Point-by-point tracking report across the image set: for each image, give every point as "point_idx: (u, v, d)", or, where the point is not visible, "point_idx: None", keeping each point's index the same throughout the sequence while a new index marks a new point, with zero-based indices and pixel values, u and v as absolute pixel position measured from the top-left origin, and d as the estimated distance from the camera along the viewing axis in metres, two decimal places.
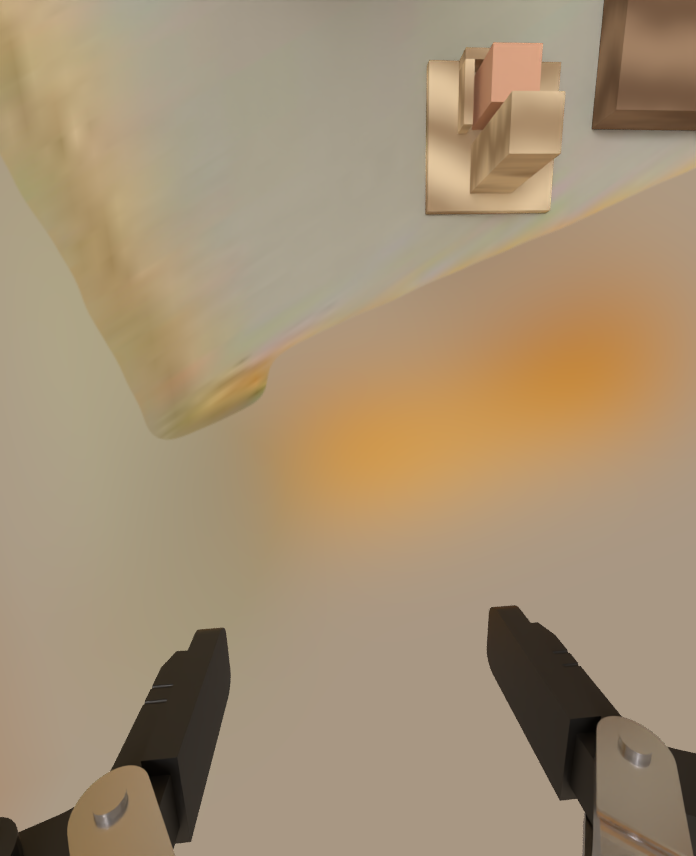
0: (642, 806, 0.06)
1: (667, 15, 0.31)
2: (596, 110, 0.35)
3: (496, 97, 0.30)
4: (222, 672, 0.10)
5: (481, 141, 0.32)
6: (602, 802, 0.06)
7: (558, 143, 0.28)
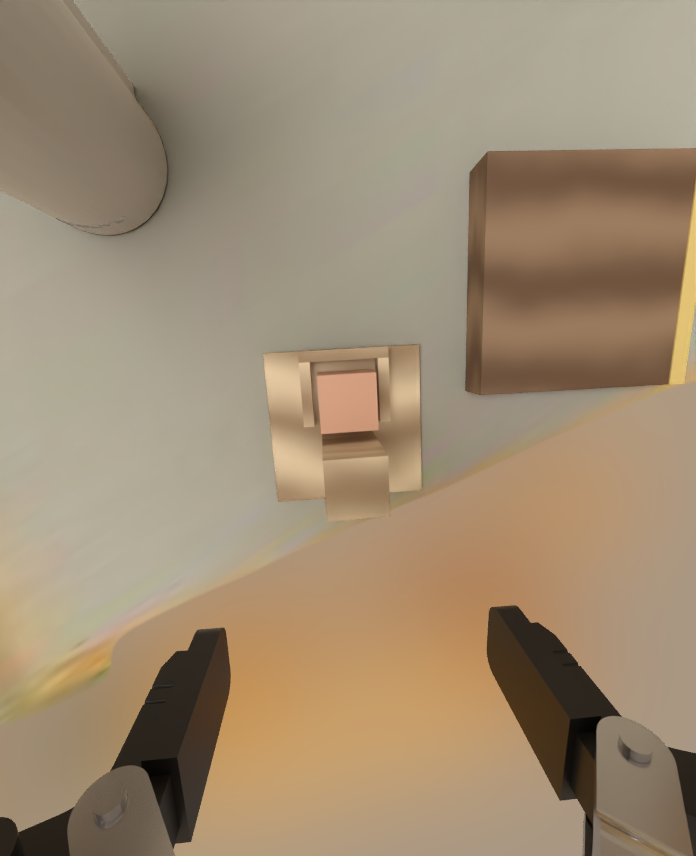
0: (642, 806, 0.06)
1: (532, 296, 0.27)
2: (467, 375, 0.30)
3: (327, 429, 0.26)
4: (222, 672, 0.10)
5: None
6: (602, 802, 0.06)
7: (386, 507, 0.24)
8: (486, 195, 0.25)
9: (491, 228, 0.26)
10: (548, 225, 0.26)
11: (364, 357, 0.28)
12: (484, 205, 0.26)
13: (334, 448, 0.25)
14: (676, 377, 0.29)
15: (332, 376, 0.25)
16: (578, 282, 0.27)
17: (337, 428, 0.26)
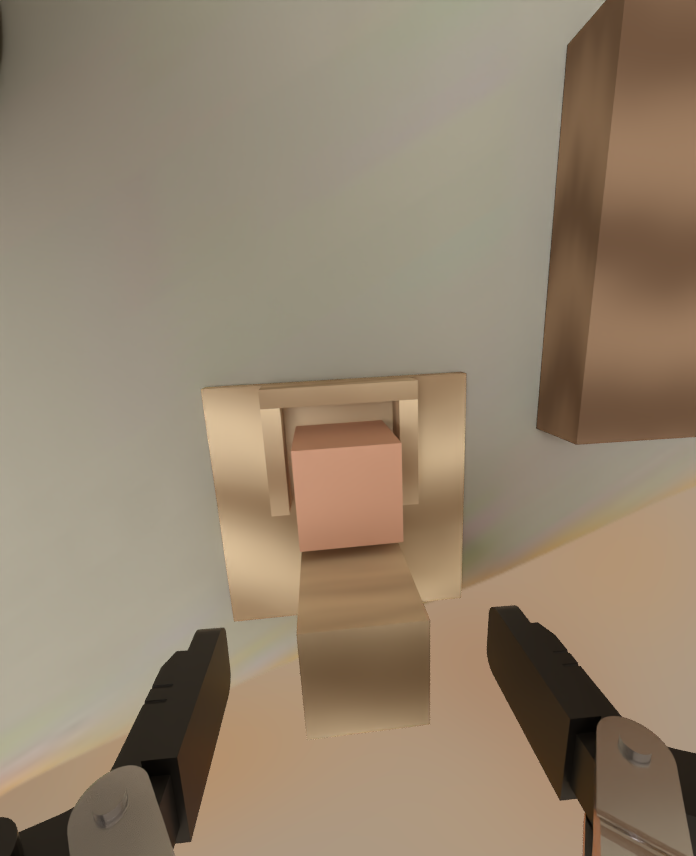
0: (642, 806, 0.06)
1: (681, 271, 0.15)
2: (543, 406, 0.18)
3: (310, 543, 0.14)
4: (222, 672, 0.10)
5: None
6: (602, 802, 0.06)
7: (422, 710, 0.12)
8: (616, 71, 0.13)
9: (620, 138, 0.13)
10: None
11: (376, 399, 0.16)
12: (607, 94, 0.13)
13: (322, 576, 0.14)
14: None
15: (320, 451, 0.13)
16: None
17: (329, 541, 0.14)
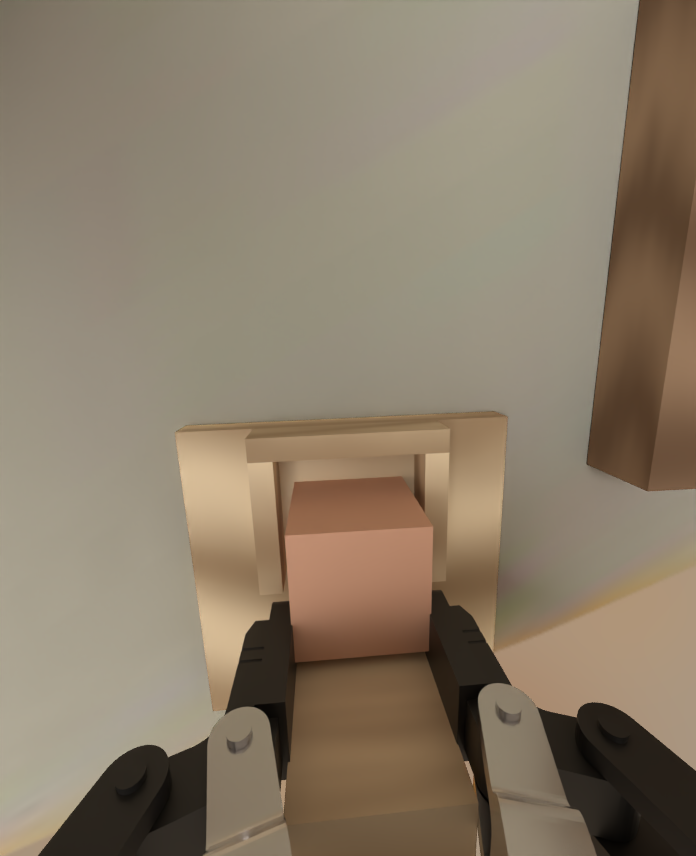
0: (523, 764, 0.07)
1: None
2: (598, 438, 0.15)
3: (308, 652, 0.11)
4: None
5: None
6: (494, 775, 0.07)
7: None
8: None
9: None
10: None
11: (396, 452, 0.12)
12: None
13: (322, 700, 0.10)
14: None
15: (324, 536, 0.10)
16: None
17: (333, 650, 0.11)
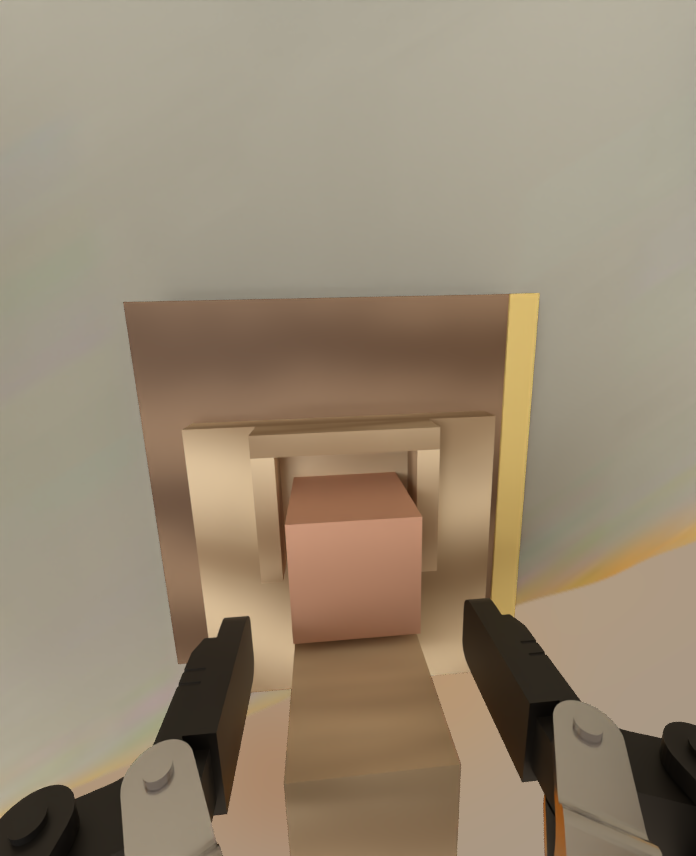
0: (598, 786, 0.06)
1: None
2: None
3: (306, 634, 0.12)
4: (248, 658, 0.11)
5: None
6: (563, 788, 0.06)
7: None
8: (134, 372, 0.14)
9: (152, 423, 0.15)
10: (253, 416, 0.15)
11: (390, 448, 0.13)
12: (140, 384, 0.15)
13: (320, 677, 0.11)
14: None
15: (321, 526, 0.11)
16: None
17: (330, 632, 0.12)
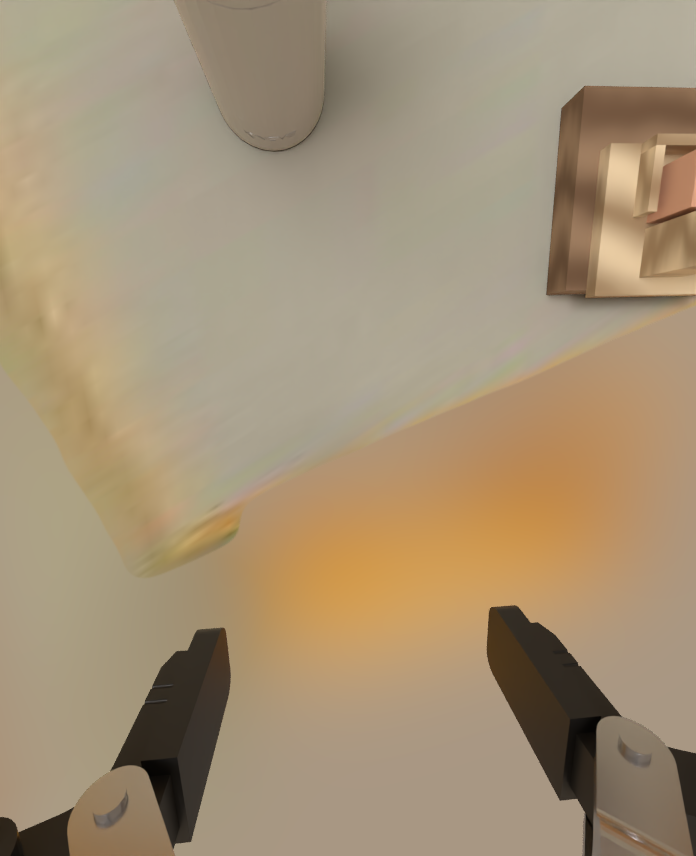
0: (642, 806, 0.06)
1: None
2: (550, 280, 0.37)
3: None
4: (222, 672, 0.10)
5: (667, 230, 0.31)
6: (602, 802, 0.06)
7: None
8: (581, 122, 0.32)
9: (583, 149, 0.32)
10: None
11: None
12: (577, 131, 0.32)
13: None
14: None
15: None
16: None
17: None
